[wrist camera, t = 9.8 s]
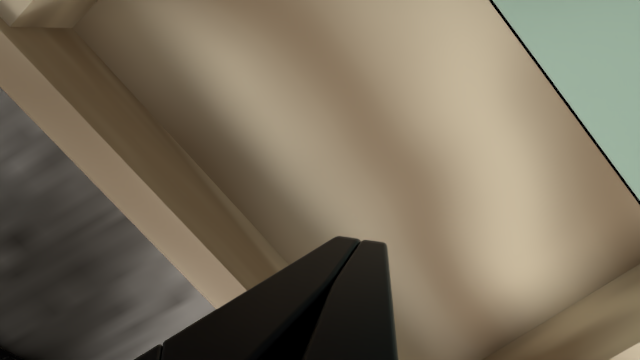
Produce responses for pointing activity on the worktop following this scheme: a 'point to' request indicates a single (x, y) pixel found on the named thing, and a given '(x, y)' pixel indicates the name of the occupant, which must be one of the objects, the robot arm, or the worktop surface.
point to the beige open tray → (345, 158)
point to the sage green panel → (590, 66)
